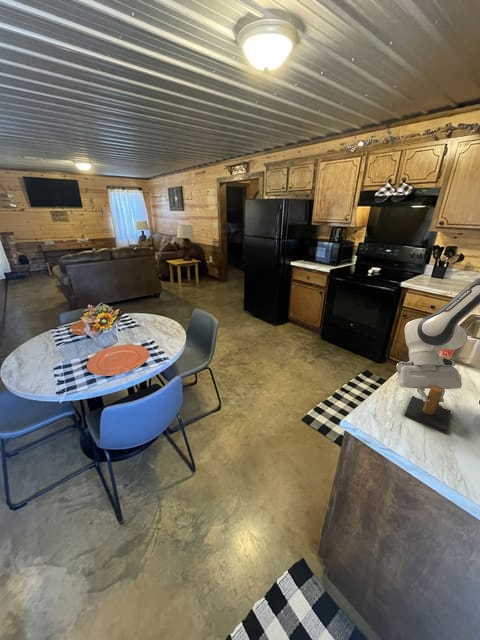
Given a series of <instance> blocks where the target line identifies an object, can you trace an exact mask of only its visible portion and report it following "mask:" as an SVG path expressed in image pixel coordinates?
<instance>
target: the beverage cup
mask: <svg viewBox="0 0 480 640" xmlns="http://www.w3.org/2000/svg"><path fill="white" fill-rule="evenodd" d="M455 351H456V349H455V350H439V354H438V355H439V356H441V357H444V358H447V359H451V360H452V357H453V356H454V352H455Z"/></svg>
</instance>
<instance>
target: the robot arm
mask: <svg viewBox="0 0 480 640" xmlns="http://www.w3.org/2000/svg"><path fill="white" fill-rule="evenodd" d="M479 306H480V276H478V278H476V279H475V280H473V281H472V282H470V283H469V284H468V285H466V286H465V287H464V288H463V289H462V290H460V292H458V293H457V294H455V296H454V297H453V298H451V299H450V300H449V301H448V302H447V303H446V304H444V306H442V307H441V308H440V309H438V310H436V311H435V312H433V313H431V314H429V315H427V316H425V317H422V318H415V319H411V320H410V321H408V322H407V323H406V324H405V325H404V330H403V331H404V340H405V345H406V347H407V349H408V359H409V361H399V362H398V363H397V364H396V366H395V367H396V372H397V383H398V384H397V385H398V386H399V387H400V388H401V389H416V392H417V393H418V394H419V395H420V396H421V399H422V400H423V402H430V397H429V396H428V394H426V392H425V391H426V389H428V390H430V389H431V386H437V387H440V388H441V389H442V393H441V396H440V399H439V401H438V402H439V403H444V402H445V400H444V396H445V393H446V390H458V389H461V388H462V387H463V382H462V378H461V375H460V373H459V372H458V371H459V370H458V369H457V368H456V367H455V366H456V361H454V360H453V359H452V358H451V359H447V358H444V357H441V356H439V354H438V351H440V350H455V351H456V350H459V349H461V348H463V346H464V345H465V344H467V342H468V332H467V331H466V330H465V328H463V327H462V326H461V325H459V324H460V322H462V320H464V319H465V318H466V317H468V316H469V314H471V313H472V312H473V311H474V310H476V309H477V308H478V307H479Z"/></svg>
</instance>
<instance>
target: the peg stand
mask: <svg viewBox="0 0 480 640" xmlns="http://www.w3.org/2000/svg"><path fill="white" fill-rule="evenodd" d="M441 393H442V389H441V388H440V387H437V386H431V389H429V391H428V394H427V396H429V397H430V402H423V399H422V398H419V397H417V396H414V395H411V398H410V400H409V403H408V405H407V408H406V410H405V413H404V417H407V418H409V419H412V420H413V421H416V422H418V423H420V424H423V425H425V426H428V427H429V428H432V429H434V430H437V431H438V432H440V433H444V434H446V433H447V431H448V428H449V424H450V423H449V422H450V418H451V414H452V413H451V412H452V411H451V410H450V409H449V408H445V407H443V406H440V405H439V404H440V402H438V401H439V399H440V396H441Z"/></svg>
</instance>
